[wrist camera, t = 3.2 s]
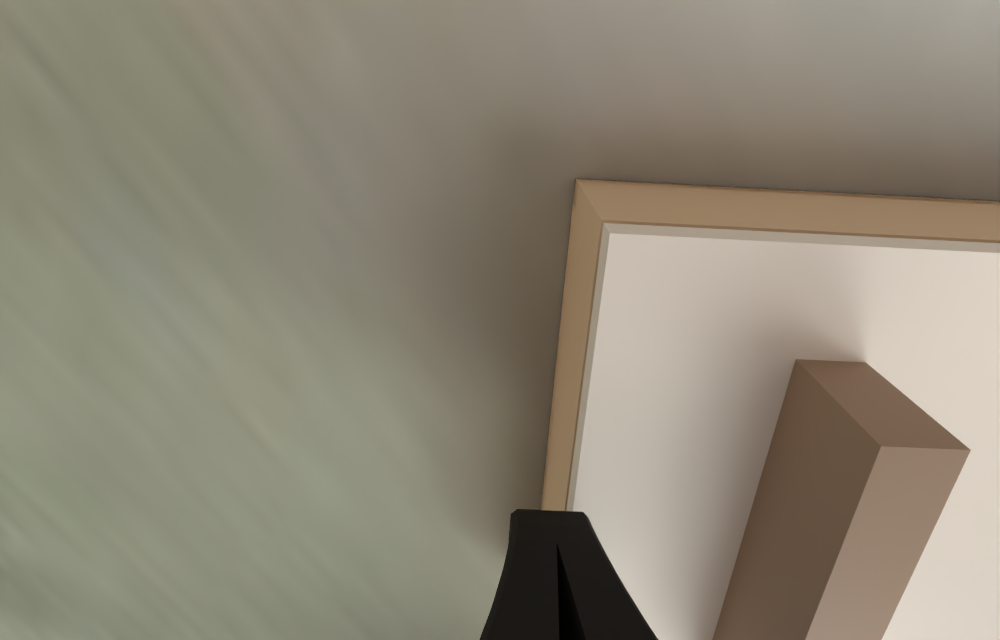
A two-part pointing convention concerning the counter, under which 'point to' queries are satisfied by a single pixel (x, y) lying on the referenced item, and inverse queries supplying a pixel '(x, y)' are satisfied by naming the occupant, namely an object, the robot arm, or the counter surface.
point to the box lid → (795, 433)
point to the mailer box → (717, 212)
